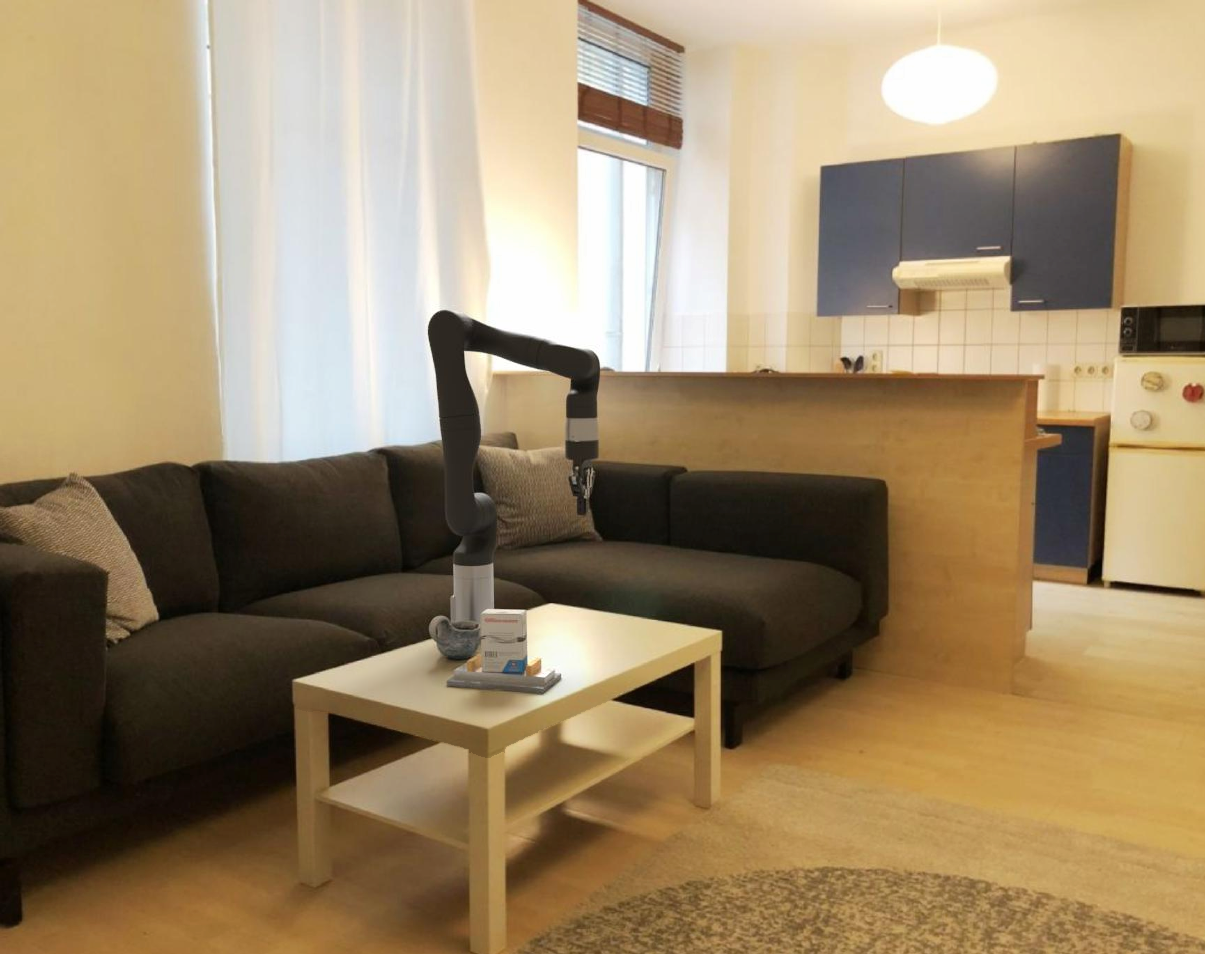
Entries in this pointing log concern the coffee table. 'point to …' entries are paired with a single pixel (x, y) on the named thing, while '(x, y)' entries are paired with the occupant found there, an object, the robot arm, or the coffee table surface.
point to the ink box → (503, 640)
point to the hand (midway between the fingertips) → (582, 514)
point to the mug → (455, 637)
